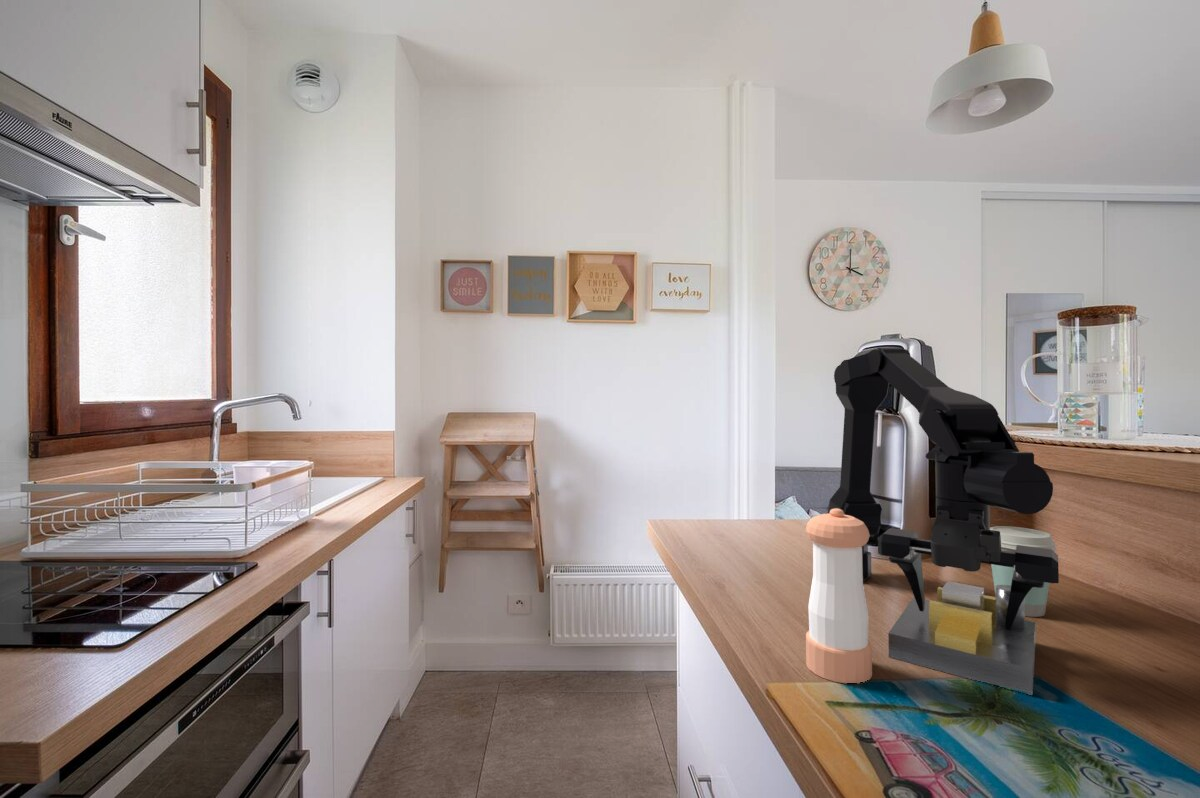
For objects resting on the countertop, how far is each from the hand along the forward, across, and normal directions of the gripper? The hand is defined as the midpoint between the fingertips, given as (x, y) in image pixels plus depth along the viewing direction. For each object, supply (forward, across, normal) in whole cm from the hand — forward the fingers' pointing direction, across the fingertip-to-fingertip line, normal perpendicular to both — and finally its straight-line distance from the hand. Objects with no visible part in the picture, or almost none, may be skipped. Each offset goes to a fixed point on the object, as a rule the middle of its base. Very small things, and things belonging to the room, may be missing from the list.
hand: (963, 619), depth 68 cm
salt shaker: (+4, -11, -15) cm, 19 cm away
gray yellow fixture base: (+4, 0, 0) cm, 4 cm away
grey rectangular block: (+4, 0, 0) cm, 4 cm away
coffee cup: (+4, +5, +22) cm, 23 cm away
